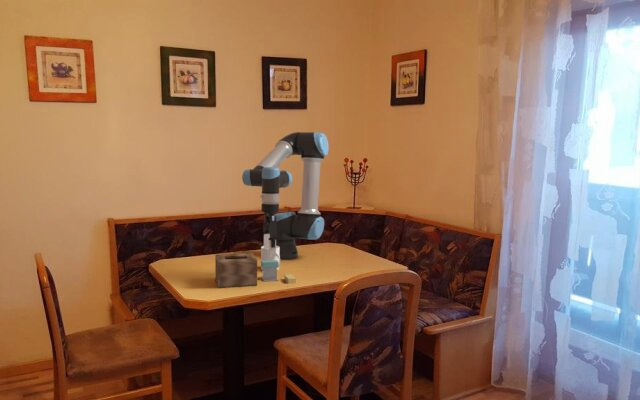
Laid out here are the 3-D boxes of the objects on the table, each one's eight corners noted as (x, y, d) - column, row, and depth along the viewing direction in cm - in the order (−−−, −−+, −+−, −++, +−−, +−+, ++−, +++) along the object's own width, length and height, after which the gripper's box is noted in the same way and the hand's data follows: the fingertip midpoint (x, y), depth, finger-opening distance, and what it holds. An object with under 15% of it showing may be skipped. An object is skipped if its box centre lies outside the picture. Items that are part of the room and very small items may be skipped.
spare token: (284, 280, 226) (284, 274, 226) (291, 279, 227) (291, 274, 227) (288, 284, 220) (288, 278, 219) (295, 283, 221) (296, 278, 220)
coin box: (252, 277, 228) (252, 253, 226) (257, 285, 215) (257, 260, 214) (215, 279, 223) (215, 254, 222) (218, 288, 211) (218, 261, 210)
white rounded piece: (271, 274, 234) (272, 251, 233) (257, 268, 243) (257, 246, 242) (287, 271, 239) (287, 248, 238) (272, 266, 249) (272, 244, 247)
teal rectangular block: (276, 265, 228) (276, 259, 228) (278, 267, 225) (278, 261, 224) (261, 266, 226) (261, 260, 226) (262, 268, 223) (262, 262, 222)
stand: (275, 276, 230) (275, 264, 229) (278, 280, 224) (278, 267, 223) (261, 277, 228) (261, 265, 227) (263, 281, 222) (263, 268, 221)
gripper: (256, 199, 233) (256, 246, 235) (266, 206, 209) (266, 258, 211) (273, 199, 235) (272, 245, 237) (285, 206, 211) (284, 257, 213)
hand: (269, 251), depth 224 cm, fingers open, 13 cm apart
